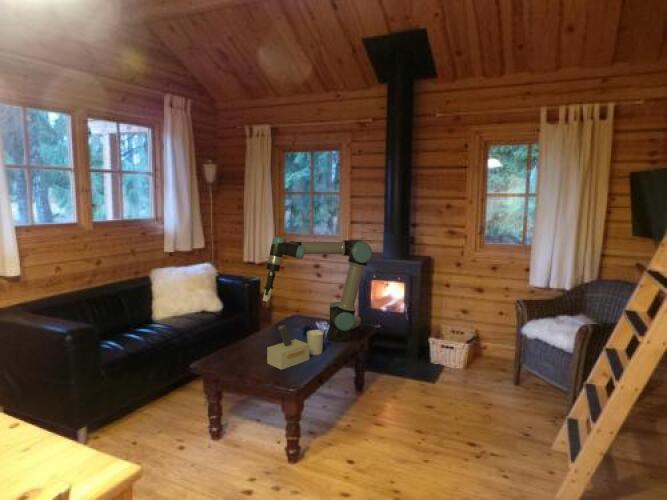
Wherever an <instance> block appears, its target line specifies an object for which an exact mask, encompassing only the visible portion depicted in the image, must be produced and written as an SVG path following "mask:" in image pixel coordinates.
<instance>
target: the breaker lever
mask: <svg viewBox="0 0 667 500" xmlns="http://www.w3.org/2000/svg"><path fill="white" fill-rule="evenodd" d="M277 331H279V334H280V336H281V339H282V343H284V345H285V346H287V345H290V344H292V342H291V340H292V339H291V335H290V334H289V332H288V324H282V325H278V326H277Z"/></svg>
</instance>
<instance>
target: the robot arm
mask: <svg viewBox="0 0 667 500" xmlns="http://www.w3.org/2000/svg"><path fill="white" fill-rule="evenodd" d="M305 255H341V256H343V257H348V259H347V261H348V264H349V266H348V270H347V273H346V279H345V282H344V287H343V290H342V295H341V299H340V301H339V302H338V301H336V302H331V303H330V304H329V326H328V330H327V333H326V339H327V340H328V341H331V342H335V343H338V342H339V343H340V342H341V343H342V342H347V341H349V340H350V339H351V333H350V330H352V329H351V328H352V327H353V326H354V323H355V318H354V315H355V314H356V310H357V309H356V308H355V305H356V304H355V303H356V300H357V296H358V292H359V289H360V284H361V280H362V276H363V273H364V269H365V268H366V267H368V263H369V261H370V259H372V256H373V250H372V248H371V246H370V244H368V243H367V242H365V241H363V240H361V239H346V240H345V239H344V240H342V241H295V240H290V241H287V239H286V238H284V237H279V236H274V237H273V238H272V242H271V246H270V249H269V256H267V262H268V263H267V265H266V268H265V269H266V270H269V271H268V274H267V278H266V279H267V280H266V284H265V287H264V288H263V289H264V292H263V297H262V301H264V302H268V301H270V300H271V294H272V292H273V291H272V290H273V289H274V287H273V285H274V281H275V278H276V272H280V269H281V264H282V261H283V256H286V257H290V258H295V259H300V260H301V259H304V257H305ZM355 316H356V315H355ZM349 329H350V330H349Z"/></svg>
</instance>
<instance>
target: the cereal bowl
mask: <svg viewBox="0 0 667 500" xmlns="http://www.w3.org/2000/svg"><path fill="white" fill-rule="evenodd" d="M354 318H355V323H354V326H353V327H352V328H351V329H349V331H350V330H354V329H355V328H357V327H358V326H360V325H361V322H362V320H361V319H362V318H361V317H360V316H358V315H354Z"/></svg>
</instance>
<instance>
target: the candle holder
mask: <svg viewBox="0 0 667 500" xmlns="http://www.w3.org/2000/svg"><path fill="white" fill-rule="evenodd" d="M306 341H307V342H306V343H307V344H309V355H312V356H318V355H321V354H322V353H323V347H324V346H323V345H324V331H323V330H320V329H311V330H307V331H306Z"/></svg>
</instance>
